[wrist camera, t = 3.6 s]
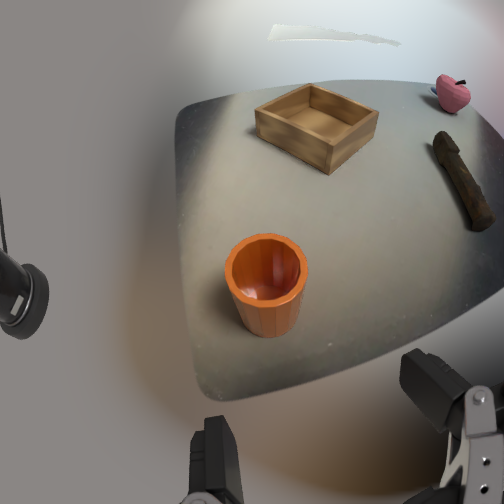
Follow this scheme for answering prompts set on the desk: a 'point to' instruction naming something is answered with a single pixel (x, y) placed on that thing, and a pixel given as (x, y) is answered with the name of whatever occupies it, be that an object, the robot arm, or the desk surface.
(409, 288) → the desk surface
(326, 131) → the wooden tray
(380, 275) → the desk surface
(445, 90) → the apple
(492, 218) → the dark brown long bar
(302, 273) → the orange cup
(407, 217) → the desk surface
